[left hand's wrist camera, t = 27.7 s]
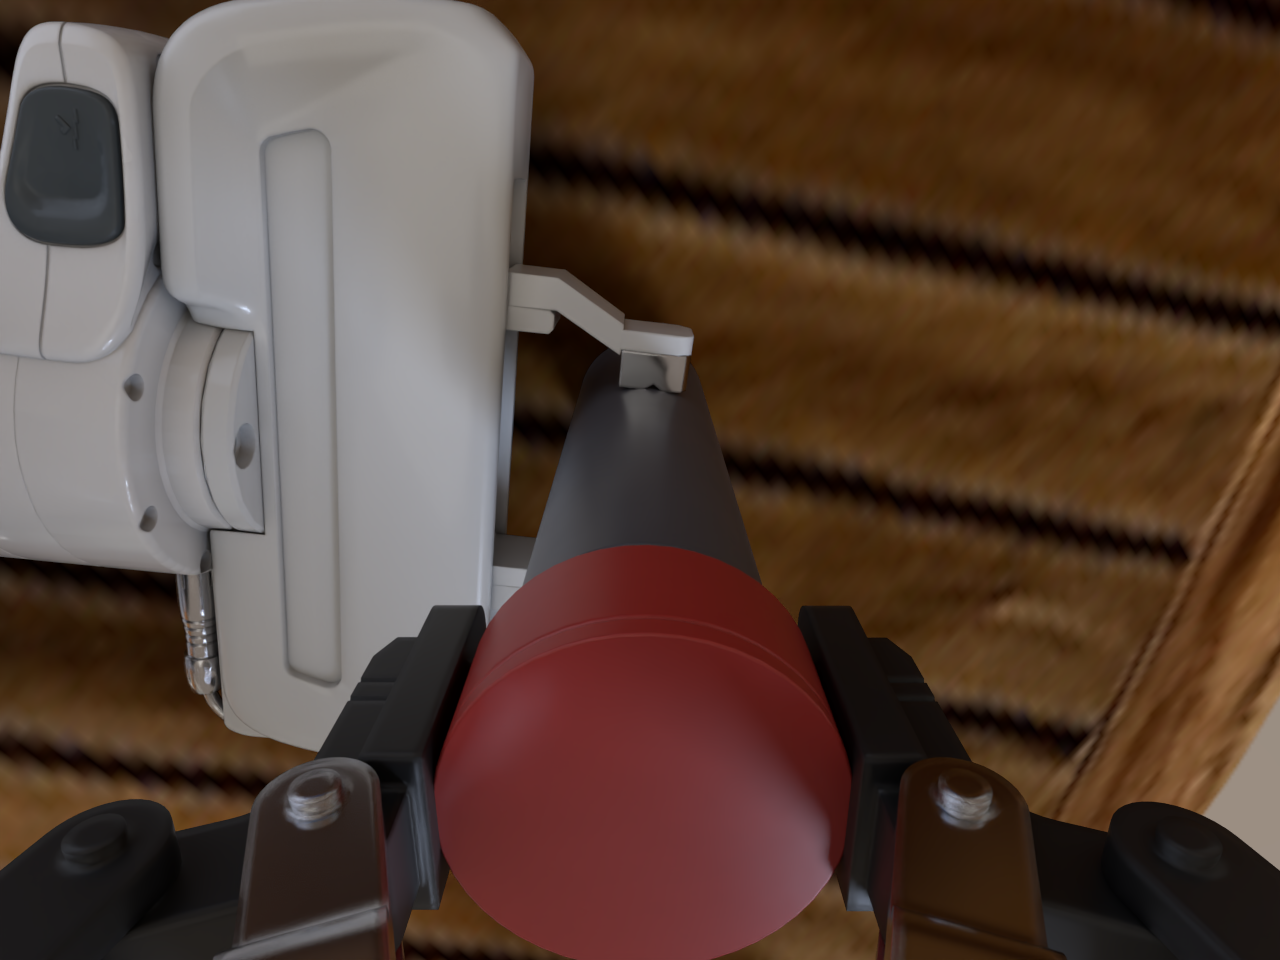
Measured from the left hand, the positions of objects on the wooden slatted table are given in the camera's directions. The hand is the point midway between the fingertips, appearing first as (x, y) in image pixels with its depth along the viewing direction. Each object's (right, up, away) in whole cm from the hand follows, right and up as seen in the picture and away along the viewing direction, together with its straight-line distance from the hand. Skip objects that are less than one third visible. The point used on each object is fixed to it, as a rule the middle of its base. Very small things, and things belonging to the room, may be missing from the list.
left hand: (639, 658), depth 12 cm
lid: (0, -1, -3) cm, 3 cm away
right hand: (+1, +3, +9) cm, 10 cm away
